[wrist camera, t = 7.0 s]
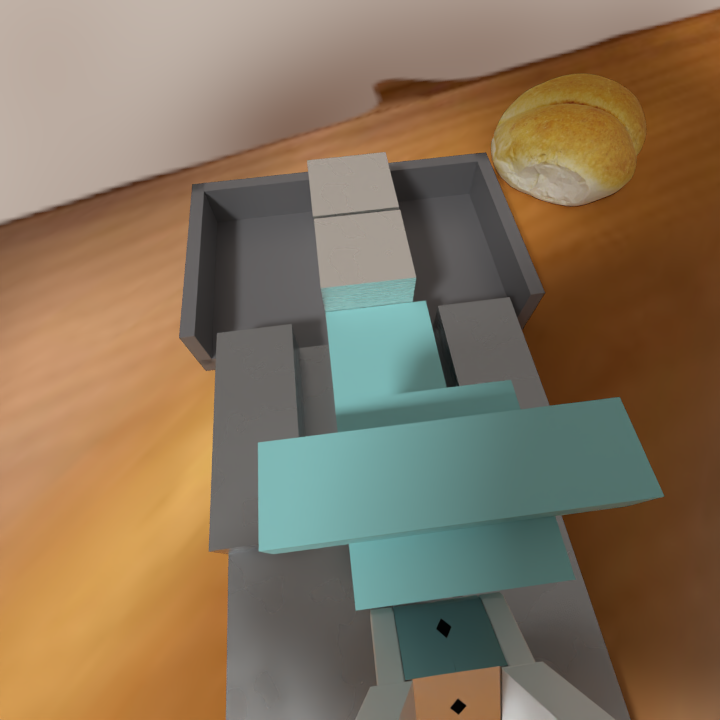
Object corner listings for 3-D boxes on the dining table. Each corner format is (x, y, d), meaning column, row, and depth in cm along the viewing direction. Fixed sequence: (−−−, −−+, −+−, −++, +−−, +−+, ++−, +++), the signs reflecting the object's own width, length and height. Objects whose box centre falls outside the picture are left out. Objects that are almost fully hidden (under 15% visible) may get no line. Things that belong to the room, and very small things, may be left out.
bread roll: (640, 135, 26) (682, 68, 23) (608, 227, 23) (652, 164, 19) (515, 102, 28) (536, 34, 25) (468, 182, 25) (484, 116, 21)
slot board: (232, 1102, 10) (181, 1297, 7) (238, 366, 19) (217, 333, 16) (710, 1009, 10) (828, 1160, 8) (490, 334, 20) (509, 296, 17)
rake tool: (328, 604, 14) (258, 653, 5) (308, 346, 18) (255, 153, 10) (503, 579, 14) (706, 588, 6) (441, 330, 19) (499, 128, 10)
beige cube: (330, 343, 18) (320, 288, 15) (324, 282, 20) (313, 218, 16) (407, 334, 18) (416, 277, 15) (395, 274, 20) (400, 209, 17)
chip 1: (323, 280, 20) (312, 216, 16) (317, 228, 22) (307, 160, 18) (394, 272, 20) (399, 206, 17) (383, 221, 22) (385, 152, 18)
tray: (205, 370, 19) (179, 337, 16) (213, 229, 23) (192, 184, 21) (521, 330, 20) (545, 292, 17) (473, 199, 24) (485, 152, 21)
